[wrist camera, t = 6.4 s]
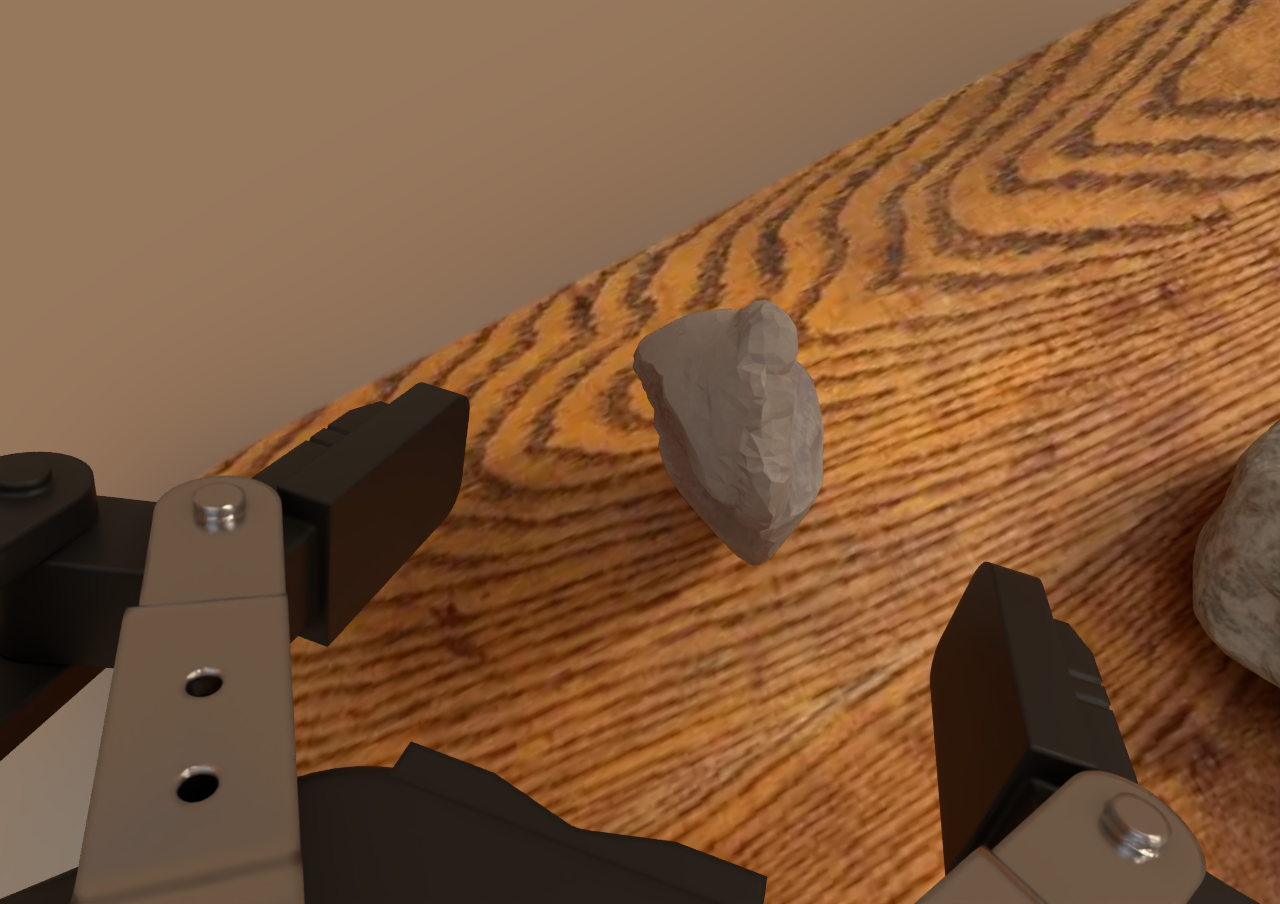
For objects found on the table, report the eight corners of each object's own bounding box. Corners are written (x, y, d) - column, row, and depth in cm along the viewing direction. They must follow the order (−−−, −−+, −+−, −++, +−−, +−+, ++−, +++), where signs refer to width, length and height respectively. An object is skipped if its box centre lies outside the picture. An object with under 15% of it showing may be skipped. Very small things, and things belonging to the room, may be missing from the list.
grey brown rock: (623, 423, 24) (591, 239, 14) (728, 374, 24) (765, 162, 15) (713, 601, 22) (745, 527, 13) (825, 546, 23) (936, 433, 13)
